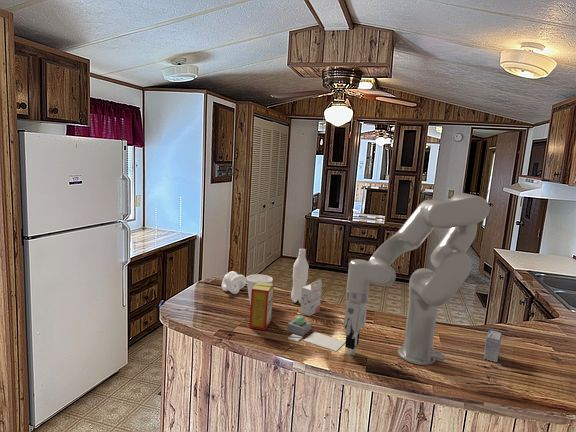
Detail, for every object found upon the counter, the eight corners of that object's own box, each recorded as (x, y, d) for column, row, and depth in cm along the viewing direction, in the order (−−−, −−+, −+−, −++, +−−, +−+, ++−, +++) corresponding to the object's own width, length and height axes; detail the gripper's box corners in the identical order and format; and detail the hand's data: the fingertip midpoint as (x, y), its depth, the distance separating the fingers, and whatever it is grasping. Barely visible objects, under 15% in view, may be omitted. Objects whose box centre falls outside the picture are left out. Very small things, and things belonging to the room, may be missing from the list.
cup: (270, 311, 171) (272, 283, 169) (242, 309, 171) (244, 281, 169) (271, 301, 183) (273, 275, 181) (246, 299, 183) (247, 273, 181)
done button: (305, 326, 155) (306, 316, 154) (301, 329, 152) (302, 319, 151) (297, 324, 156) (298, 314, 156) (293, 327, 153) (294, 317, 153)
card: (302, 337, 148) (302, 336, 148) (297, 341, 145) (297, 340, 144) (292, 334, 150) (292, 333, 150) (287, 338, 147) (287, 337, 146)
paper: (345, 342, 147) (345, 341, 147) (336, 351, 139) (336, 350, 139) (314, 332, 153) (314, 331, 153) (303, 341, 146) (303, 340, 146)
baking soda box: (265, 330, 152) (268, 290, 150) (249, 327, 154) (251, 287, 151) (271, 320, 162) (274, 282, 159) (255, 318, 163) (258, 280, 160)
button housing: (311, 329, 156) (311, 322, 155) (303, 336, 150) (303, 328, 149) (295, 324, 159) (296, 317, 159) (286, 331, 153) (287, 323, 153)
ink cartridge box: (310, 307, 178) (313, 276, 176) (319, 311, 176) (322, 279, 173) (299, 313, 172) (302, 280, 170) (308, 316, 169) (311, 283, 167)
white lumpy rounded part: (214, 290, 192) (215, 272, 190) (232, 285, 201) (233, 268, 200) (229, 296, 185) (230, 278, 183) (248, 291, 194) (249, 273, 192)
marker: (357, 352, 140) (360, 320, 138) (353, 356, 137) (357, 323, 135) (348, 349, 142) (351, 318, 140) (344, 353, 139) (347, 321, 137)
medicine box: (496, 363, 140) (500, 340, 138) (482, 359, 142) (486, 336, 141) (498, 355, 146) (502, 332, 145) (485, 351, 149) (488, 329, 147)
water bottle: (309, 302, 186) (313, 249, 182) (298, 305, 180) (303, 251, 177) (297, 297, 190) (301, 246, 187) (287, 300, 185) (291, 248, 181)
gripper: (359, 305, 127) (353, 358, 130) (374, 292, 142) (369, 340, 144) (337, 299, 131) (332, 351, 134) (354, 287, 145) (349, 334, 148)
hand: (351, 345), depth 139 cm, fingers closed on marker, 3 cm apart
